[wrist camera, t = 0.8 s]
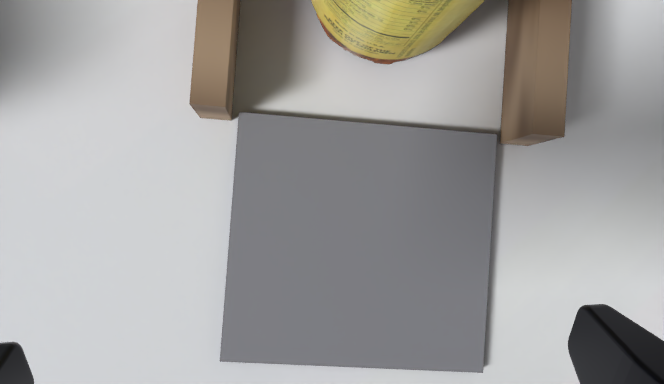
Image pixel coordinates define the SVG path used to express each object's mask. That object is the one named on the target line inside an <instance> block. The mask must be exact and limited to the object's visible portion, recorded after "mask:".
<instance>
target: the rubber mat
mask: <svg viewBox="0 0 664 384" xmlns="http://www.w3.org/2000/svg"><path fill="white" fill-rule="evenodd" d="M496 146H497V134H486V133H475V132H463V131H452V130H440V129H429V128H417V127H406V126H394V125H383V124H371V123H360V122H348V121H337V120H325V119H314V118H302V117H291V116H279V115H268V114H256V113H245V112H239V119H238V132H237V145H236V158H235V171H234V184H233V197H232V210H231V223H230V236H229V249H228V262H227V275H226V288H225V301H224V314H223V327H222V340H221V353H220V361H222V362H245V363H268V364H291V365H315V366H338V367H361V368H384V369H407V370H431V371H454V372H477V373H483V363H484V347H485V330H486V313H487V296H488V280H489V263H490V246H491V230H492V213H493V196H494V179H495V163H496Z"/></svg>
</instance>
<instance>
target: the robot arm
mask: <svg viewBox="0 0 664 384" xmlns="http://www.w3.org/2000/svg"><path fill="white" fill-rule="evenodd" d="M568 349H569V354H570V357H571V360H572V363H573V365H574V368H575V371H576V374H577V376H578V379H579V382H580V384H664V341H663V340H661V339H660V338H658V337H657V336H655V335H654V334H652V333H650V332H649V331H647V330H646V329H644V328H643V327H641V326H639V325H638V324H636V323H635V322H633V321H632V320H630V319H629V318H627V317H625V316H624V315H622V314H621V313H619V312H618V311H616V310H615V309H613V308H611V307H610V306H608V305H604V304H596V305H584V306H582V307H581V308H580V309H579V310H578V312H577V315H576V318H575V321H574V324H573V327H572V330H571V333H570V336H569V340H568ZM0 384H34V379H33V375H32V373H31V370H30V367H29V365H28V362H27V360H26V357H25V354H24V352H23V349H22V347H21V346H20V345H19V344H18V343H16V342H5V343H0Z"/></svg>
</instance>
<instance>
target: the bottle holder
mask: <svg viewBox="0 0 664 384" xmlns="http://www.w3.org/2000/svg"><path fill="white" fill-rule="evenodd" d="M240 2H241V0H198V5H197V18H196V30H195V43H194V55H193V68H192V80H191V93H190V105H191V106H192V108H193V109H194V110H195V111H196V113H197V114H198V115H199V117H200V118H208V119H220V120H231V118H232V106H233V93H234V80H235V67H236V54H237V41H238V28H239V15H240ZM571 5H572V0H508V17H507V34H506V51H505V67H504V84H503V101H502V118H501V135H500V143H501V144H513V145H525V146H529V145H533V144H537V143H541V142H545V141H549V140H553V139H557V138H561V137H564V132H565V114H566V96H567V78H568V59H569V41H570V23H571Z"/></svg>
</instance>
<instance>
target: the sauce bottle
mask: <svg viewBox="0 0 664 384" xmlns="http://www.w3.org/2000/svg"><path fill="white" fill-rule="evenodd" d="M311 1H312V4H313V6H314V8H315V10H316V12H317V16H318V18H319V20H320V23H321V25H322V27H323V29H324V31H325V32H326V34H327V35H328V37H329V38H330V39H331V40H332V41H334V42H335V43H337V44H338V45H339V46H341V47H342V48H343V49H344V50H347V51H349V52H350V53H352V54H353V55H356V56H358V57H361V58H364V59H367V60H371V61H373V62H374V63H380V64H392V63H393V62H397V61H403V60H406V59H409V58H412V57H414V56H417V55H419V54H422V53H424V52H426V51H428V50H430V49H432V48H433V47H435V46H437V45H438V44H440V43H441V42H442V41H443V40H444V39H445V38H446V37H447V35H448V34H450V33H451V32H453V31H454V30H455V29H456V28H457V27H458V26H459V25H460V24H461V23H462V22H463V21H464V20H465V19H466V18H467V17H468V16H469V15H470V14H471V13H473V12H474V11H475V10H476V9H477V8H478V7H479V6H480V5H481V4H482V3H483V2H484V1H485V0H311Z"/></svg>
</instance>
